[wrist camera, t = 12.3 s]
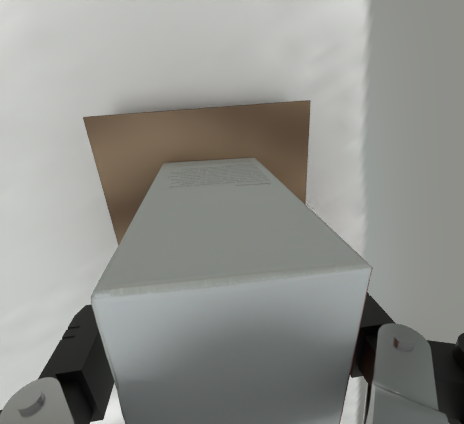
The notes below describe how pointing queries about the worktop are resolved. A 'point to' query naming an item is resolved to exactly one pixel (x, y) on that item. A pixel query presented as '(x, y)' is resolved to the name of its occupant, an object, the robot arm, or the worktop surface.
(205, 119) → the walnut stand
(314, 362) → the small box
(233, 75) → the worktop surface
